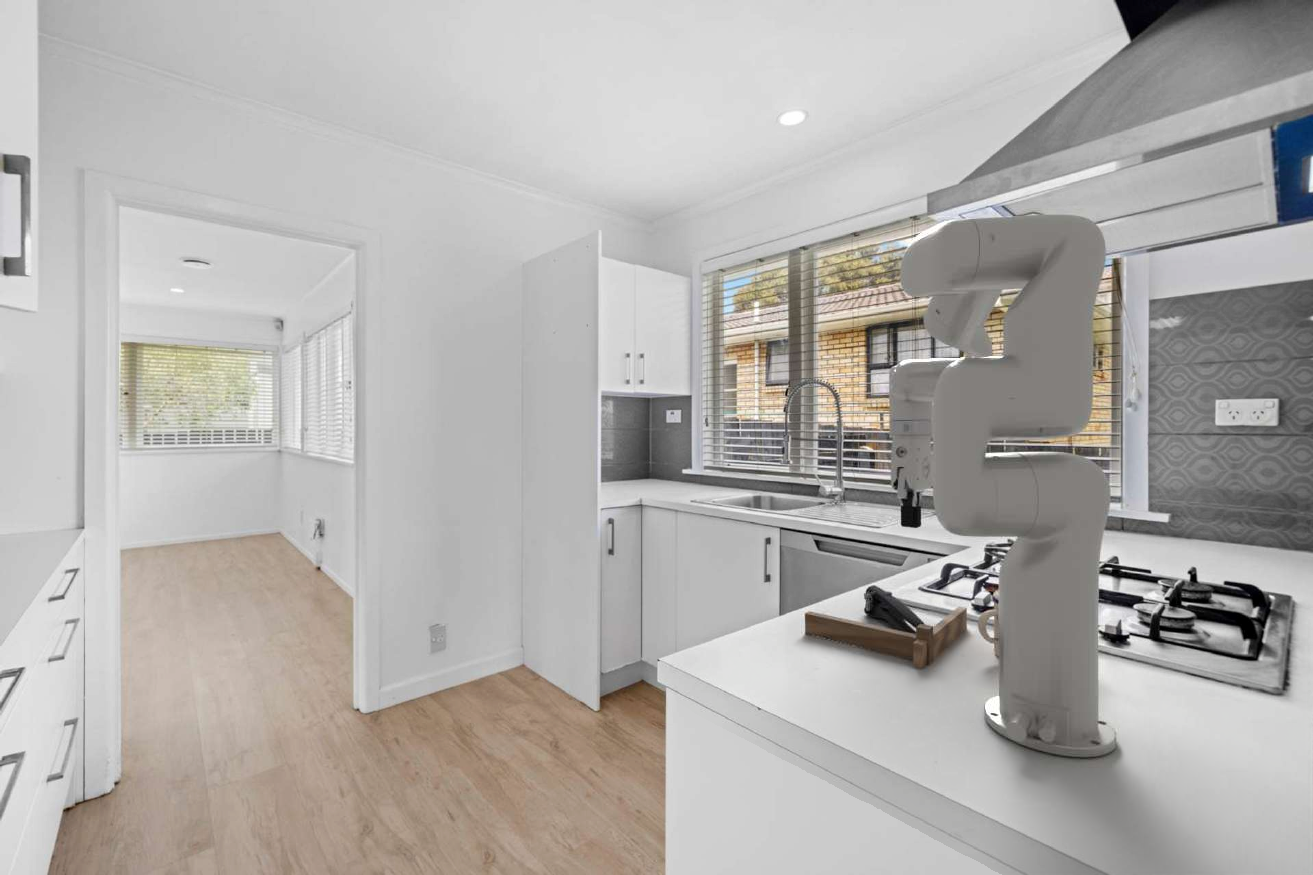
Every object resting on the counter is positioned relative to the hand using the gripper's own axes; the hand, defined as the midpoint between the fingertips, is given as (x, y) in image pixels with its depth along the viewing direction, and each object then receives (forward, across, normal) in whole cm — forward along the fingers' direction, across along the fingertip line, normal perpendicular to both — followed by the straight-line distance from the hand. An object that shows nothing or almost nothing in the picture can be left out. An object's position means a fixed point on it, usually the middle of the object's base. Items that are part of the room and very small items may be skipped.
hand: (910, 526), depth 114 cm
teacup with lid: (+15, -16, -21) cm, 30 cm away
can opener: (+16, -13, -2) cm, 20 cm away
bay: (+15, -18, -1) cm, 23 cm away
